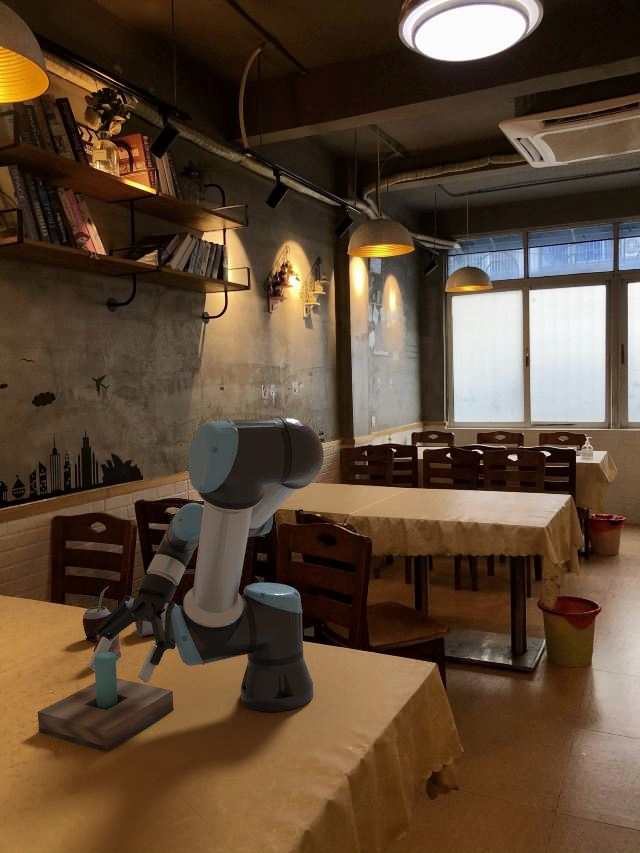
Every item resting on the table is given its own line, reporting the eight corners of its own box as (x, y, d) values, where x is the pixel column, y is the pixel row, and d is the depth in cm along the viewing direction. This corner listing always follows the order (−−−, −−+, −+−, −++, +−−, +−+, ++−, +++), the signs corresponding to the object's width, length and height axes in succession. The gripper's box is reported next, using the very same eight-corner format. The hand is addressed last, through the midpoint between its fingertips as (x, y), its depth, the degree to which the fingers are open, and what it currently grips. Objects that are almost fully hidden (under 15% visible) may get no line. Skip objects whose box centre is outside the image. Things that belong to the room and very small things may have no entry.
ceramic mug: (173, 633, 186) (171, 604, 186) (143, 640, 182) (141, 611, 182) (160, 623, 195) (158, 596, 195) (131, 629, 191) (129, 602, 191)
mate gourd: (87, 635, 187) (84, 580, 186) (117, 633, 188) (114, 578, 187) (80, 645, 180) (77, 588, 179) (112, 643, 181) (108, 586, 180)
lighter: (108, 668, 164) (105, 626, 164) (94, 667, 165) (92, 625, 164) (124, 654, 172) (121, 615, 171) (111, 654, 173) (109, 614, 172)
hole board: (173, 709, 141) (172, 690, 140) (107, 752, 125) (105, 730, 125) (108, 694, 149) (107, 676, 149) (38, 732, 134) (37, 711, 133)
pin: (122, 713, 138) (119, 654, 137) (107, 721, 134) (104, 661, 134) (107, 709, 140) (105, 650, 139) (92, 717, 136) (89, 657, 136)
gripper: (215, 594, 149) (175, 691, 137) (128, 583, 161) (83, 672, 149) (198, 576, 144) (154, 676, 132) (109, 566, 156) (61, 657, 143)
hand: (116, 674), depth 140 cm, fingers open, 13 cm apart
